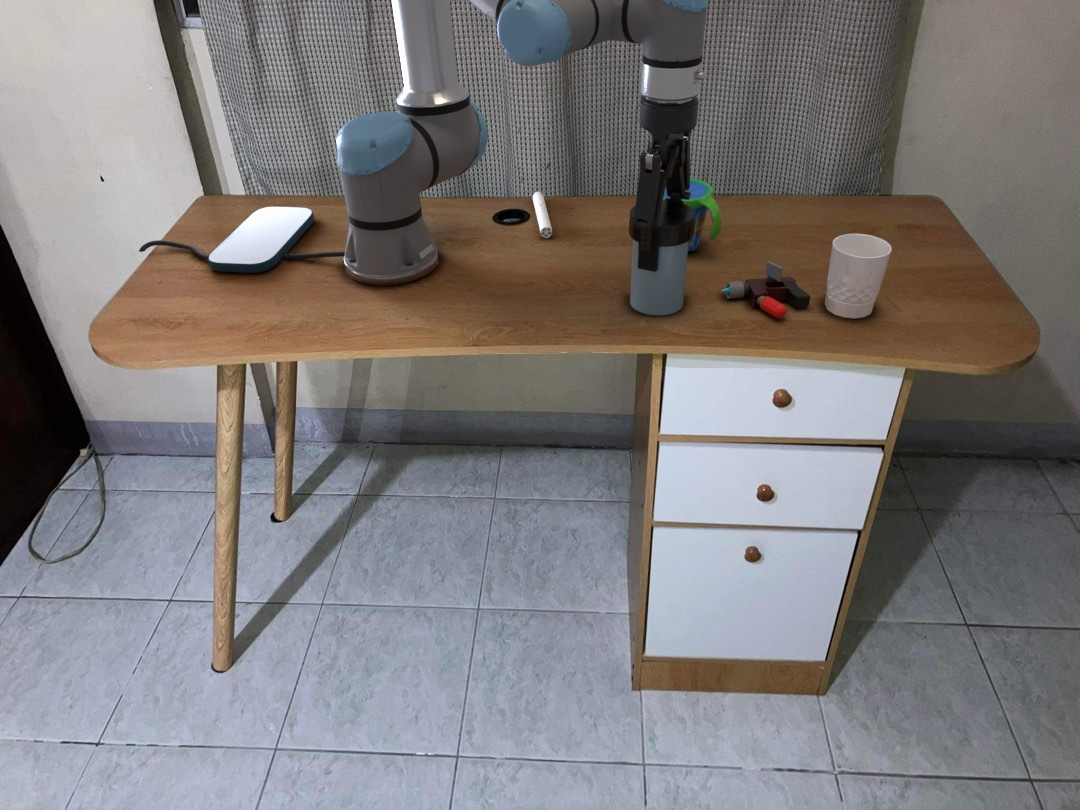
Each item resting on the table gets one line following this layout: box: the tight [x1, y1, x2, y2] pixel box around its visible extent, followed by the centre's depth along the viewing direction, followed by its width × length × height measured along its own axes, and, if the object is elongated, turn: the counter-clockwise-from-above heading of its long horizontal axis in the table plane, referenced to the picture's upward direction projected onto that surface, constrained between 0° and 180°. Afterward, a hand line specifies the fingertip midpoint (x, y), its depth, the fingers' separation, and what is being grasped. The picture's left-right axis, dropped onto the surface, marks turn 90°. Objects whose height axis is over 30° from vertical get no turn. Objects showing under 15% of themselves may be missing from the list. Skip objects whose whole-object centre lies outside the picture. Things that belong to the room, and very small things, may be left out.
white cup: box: [824, 233, 893, 320], centre depth 119 cm, size 8×8×10 cm
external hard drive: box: [207, 206, 315, 274], centre depth 145 cm, size 24×12×2 cm, turn 172°
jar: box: [629, 239, 689, 316], centre depth 121 cm, size 8×8×14 cm
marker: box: [532, 191, 553, 239], centre depth 151 cm, size 18×2×2 cm, turn 5°
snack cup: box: [663, 177, 722, 253], centre depth 138 cm, size 16×10×10 cm
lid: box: [628, 200, 695, 247], centre depth 118 cm, size 9×9×3 cm
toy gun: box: [720, 260, 811, 319], centre depth 122 cm, size 10×12×5 cm
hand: (659, 255), depth 121 cm, fingers closed on lid, 9 cm apart
